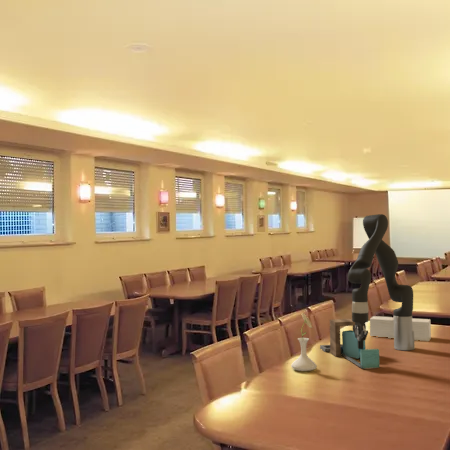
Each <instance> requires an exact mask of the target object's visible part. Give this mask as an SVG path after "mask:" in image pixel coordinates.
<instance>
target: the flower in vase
mask: <svg viewBox="0 0 450 450" xmlns="http://www.w3.org/2000/svg"><path fill="white" fill-rule="evenodd" d="M300 315H301V318H302V319H303V321H304V322H303V324H302V326H301V329H300V332H301V337H298V338H297V340H298V342H299V346H300V355H299V356H298V358H297V359H294V361H293V362H292V363H291V364H290V366H291V368H292V369H293V370H295V371H299V372H310V371H314V370H316V369H317V367H318V366H317V364H316V363H315V361H313V360H312V358H310V357H308V354H307V344H308V342H309V340H310V338H308V337H304V335H306V334H307V332H306V331H305V332H304V333H303V327H304V325H305V324H306V326H307V327H309V328H310V329H312V328H313V323H312V322H311V320H310V318H309V317H308V316H307V315H306V313H304V312H302V313H301V314H300Z"/></svg>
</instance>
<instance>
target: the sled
mask: <svg viewBox="0 0 450 450" xmlns="http://www.w3.org/2000/svg"><path fill="white" fill-rule="evenodd" d="M341 357H343V358H345V359H347V360H348V361H349V362H351V363H353V364H355V365H356V366H357V367H359V368H360V369H374V368H375V369H376V368H379V369H380V349H379V348H366V349H361V350H360V358H359V360H360V362H359V361H357V360H356V359H355V358H353V357H349V356H347V355H346V354H344V353H343V346H341Z"/></svg>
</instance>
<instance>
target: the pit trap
mask: <svg viewBox="0 0 450 450" xmlns="http://www.w3.org/2000/svg"><path fill="white" fill-rule="evenodd" d="M340 346H343V343H340ZM319 349H320V350H321V349H322V350H321V351H323V352H325V353H330V344H322V345H321V344H320V345H319Z"/></svg>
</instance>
